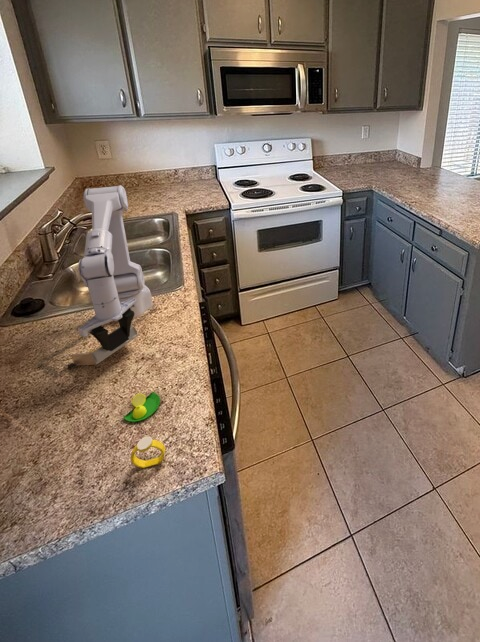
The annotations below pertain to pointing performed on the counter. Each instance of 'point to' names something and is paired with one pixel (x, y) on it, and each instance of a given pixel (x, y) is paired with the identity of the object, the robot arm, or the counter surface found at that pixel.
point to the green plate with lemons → (143, 406)
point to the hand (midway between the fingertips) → (116, 342)
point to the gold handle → (71, 365)
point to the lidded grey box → (115, 340)
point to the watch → (144, 446)
